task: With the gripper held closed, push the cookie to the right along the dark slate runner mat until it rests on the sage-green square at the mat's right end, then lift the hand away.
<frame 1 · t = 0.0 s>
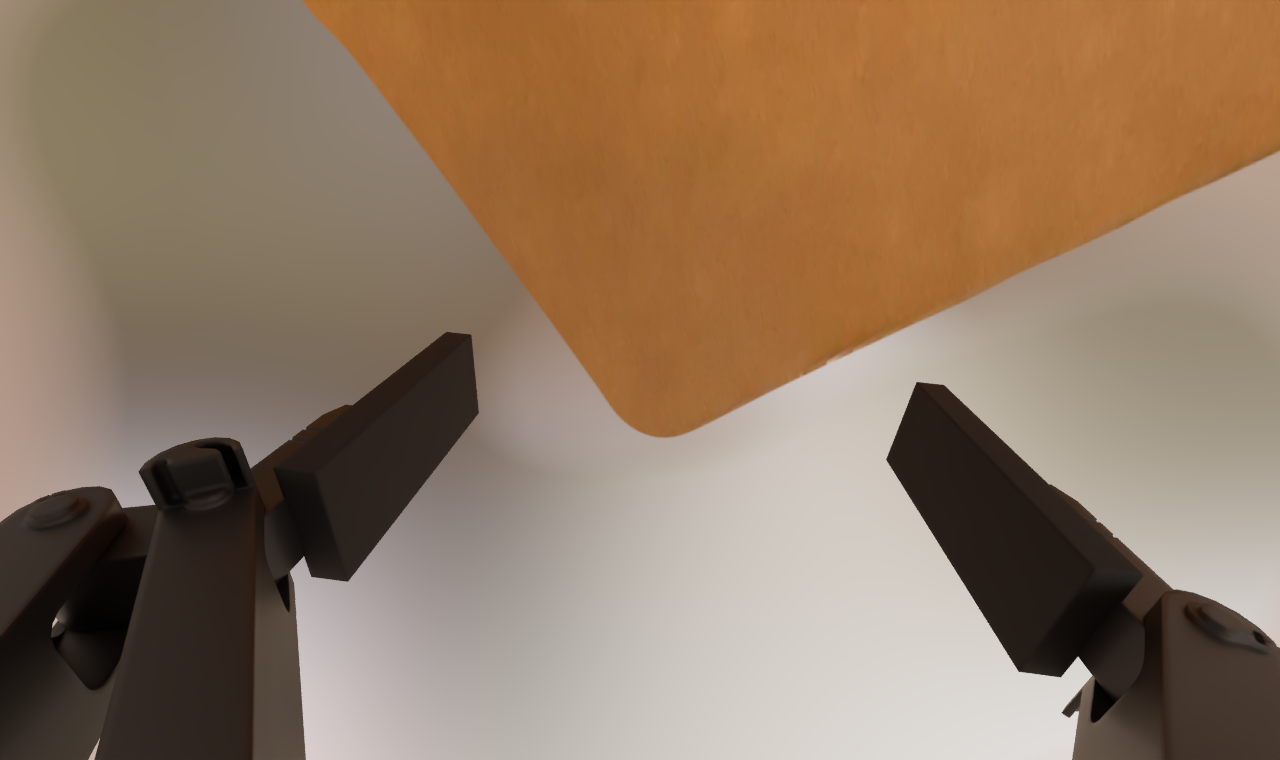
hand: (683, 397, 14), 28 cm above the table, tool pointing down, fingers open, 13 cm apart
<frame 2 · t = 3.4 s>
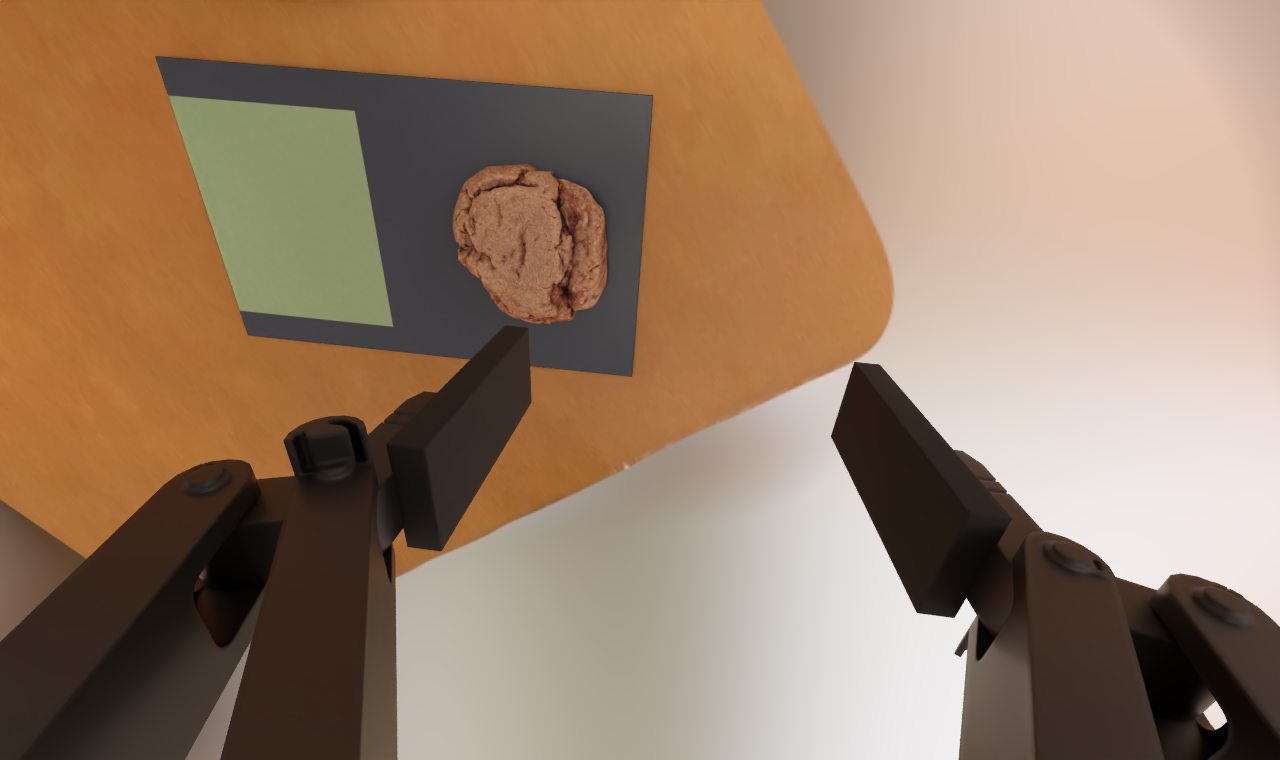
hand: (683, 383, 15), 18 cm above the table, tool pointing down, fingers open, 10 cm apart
cookie: (537, 244, 31), resting on runner
runner: (420, 233, 32), on the table
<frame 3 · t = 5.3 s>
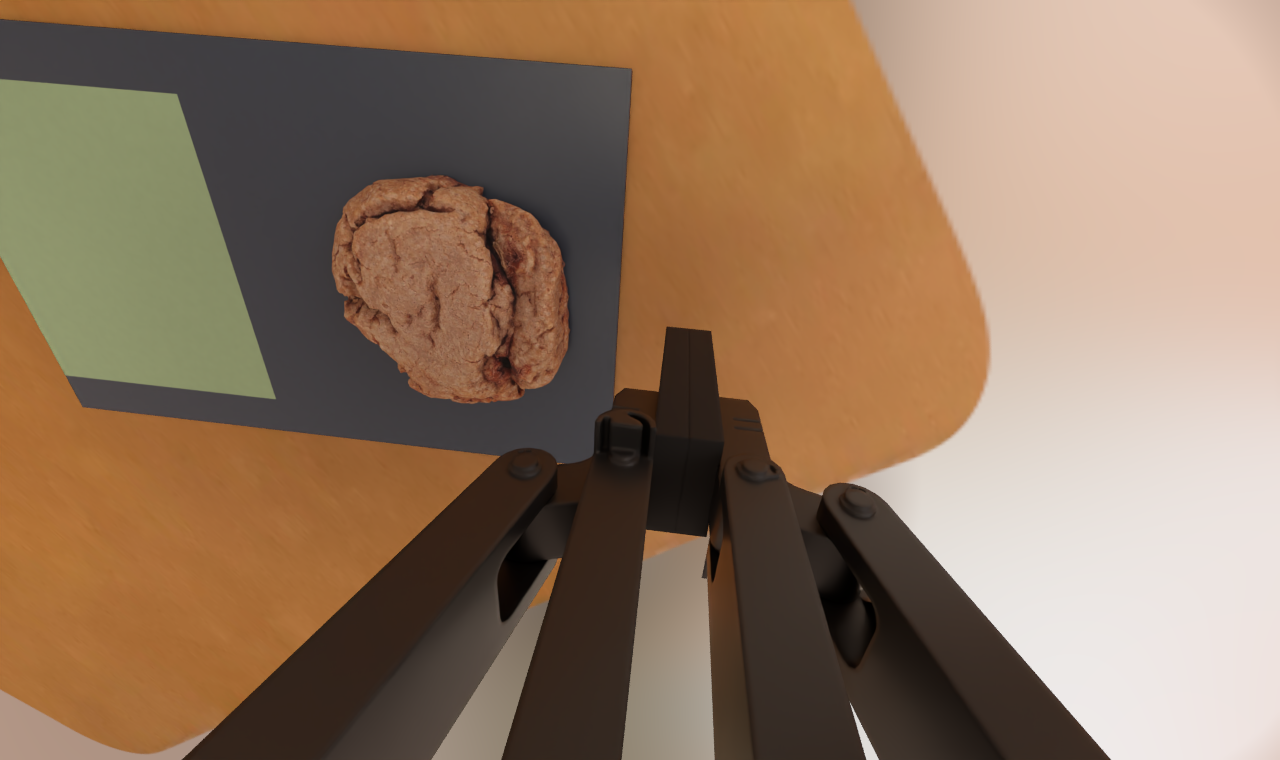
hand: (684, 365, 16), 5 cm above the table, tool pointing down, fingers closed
cookie: (467, 291, 21), resting on runner
runner: (299, 274, 22), on the table
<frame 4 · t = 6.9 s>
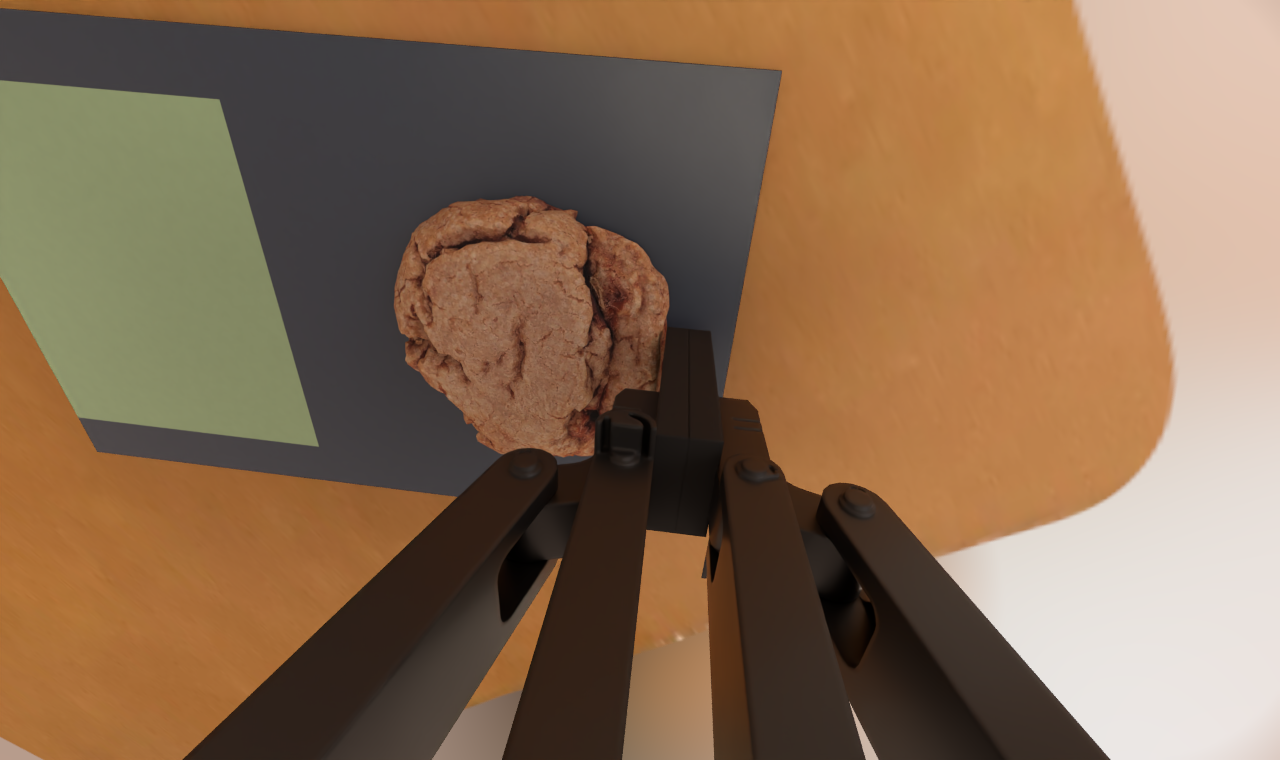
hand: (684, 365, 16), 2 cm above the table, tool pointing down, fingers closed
cookie: (544, 329, 18), resting on runner, touching gripper
runner: (354, 309, 19), on the table
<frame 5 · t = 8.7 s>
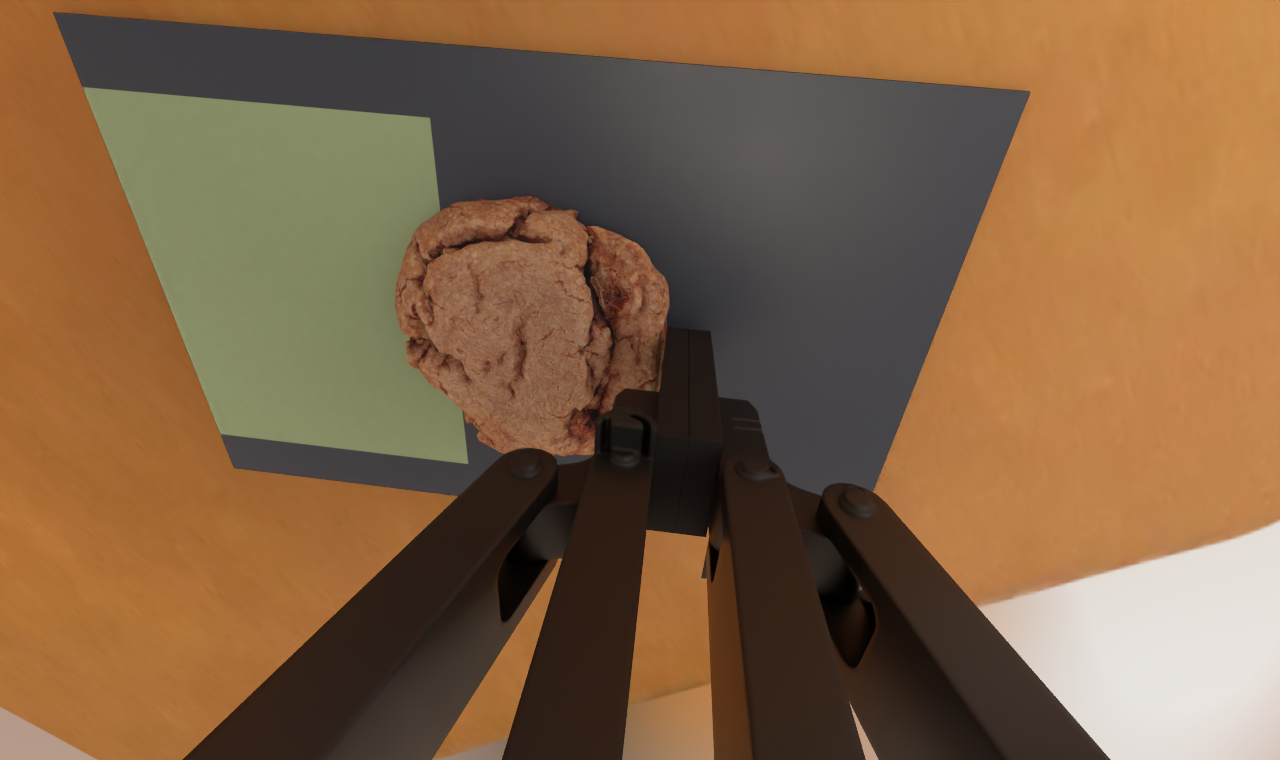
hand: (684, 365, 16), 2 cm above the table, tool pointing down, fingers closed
cookie: (545, 328, 18), resting on runner, touching gripper
runner: (529, 327, 18), on the table
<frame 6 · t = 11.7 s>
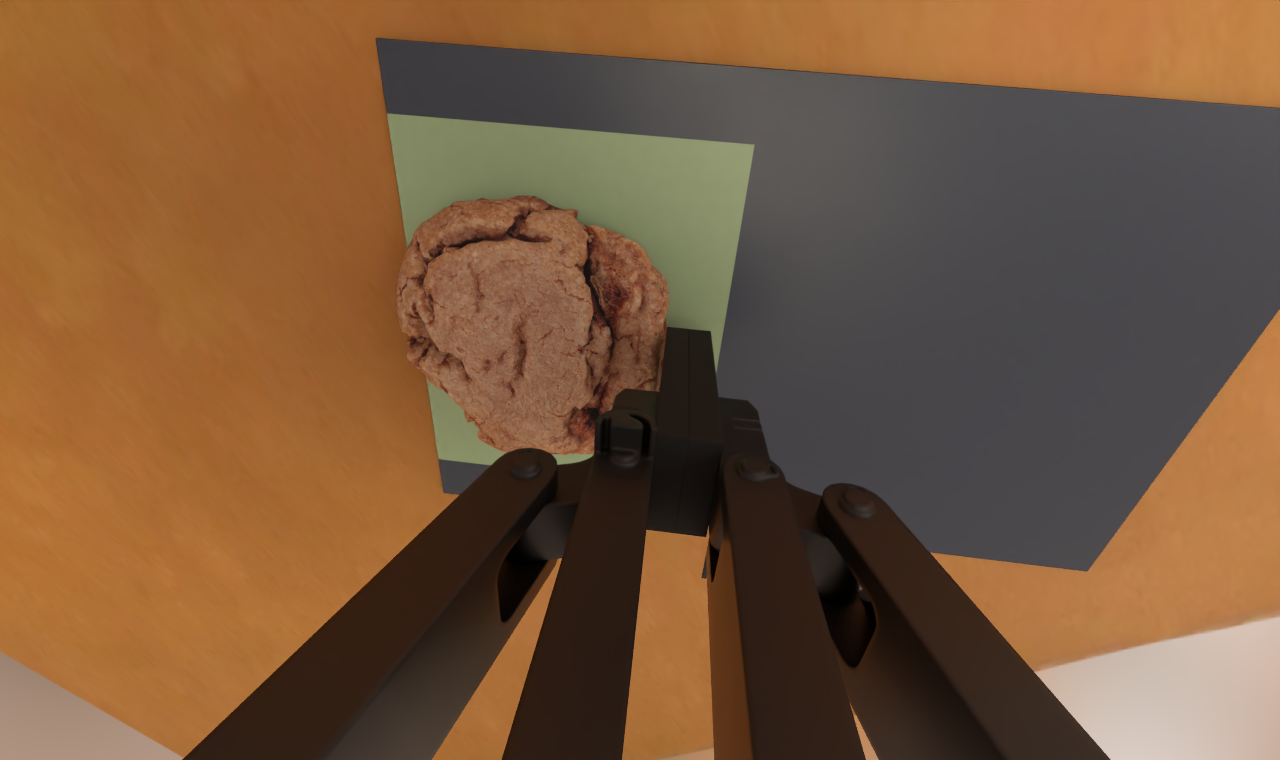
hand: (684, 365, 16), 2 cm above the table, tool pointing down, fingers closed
cookie: (545, 327, 18), resting on runner, touching gripper
runner: (798, 354, 18), on the table
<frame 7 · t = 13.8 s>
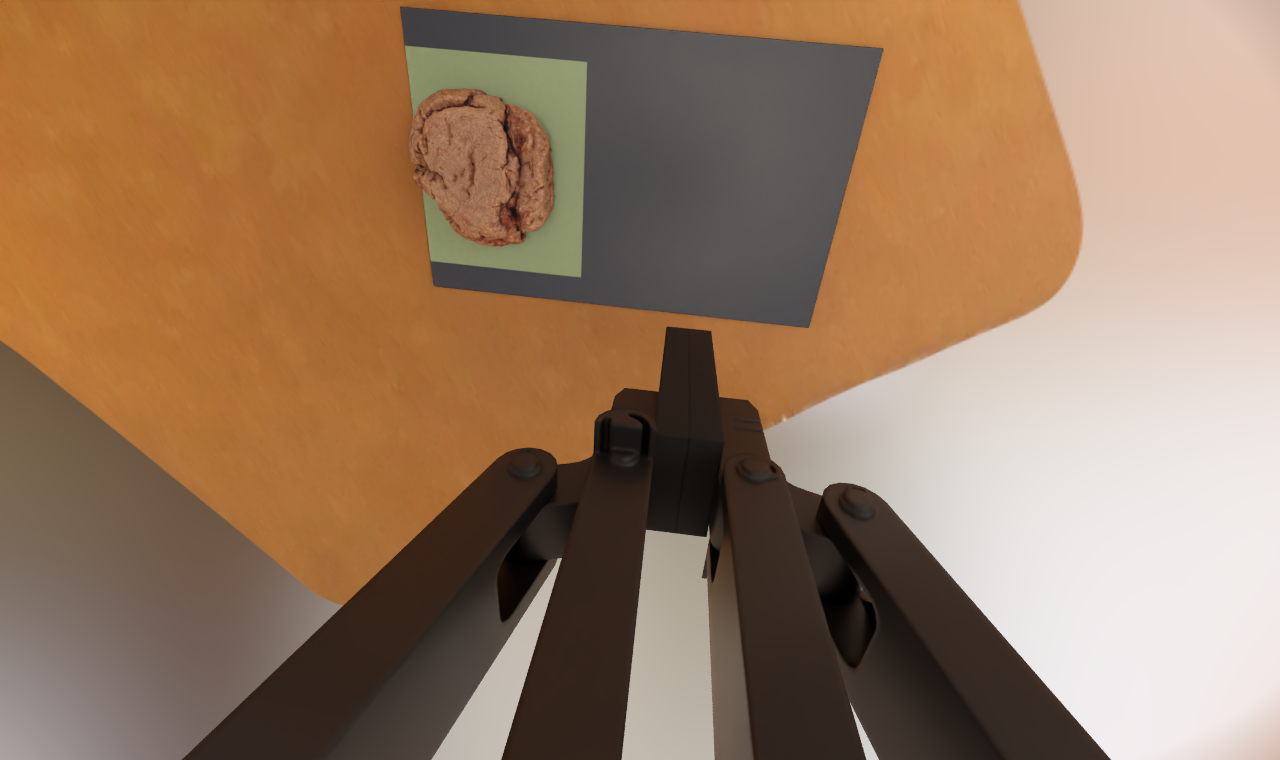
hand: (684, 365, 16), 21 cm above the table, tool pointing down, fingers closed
cookie: (489, 170, 34), resting on runner
runner: (626, 184, 33), on the table
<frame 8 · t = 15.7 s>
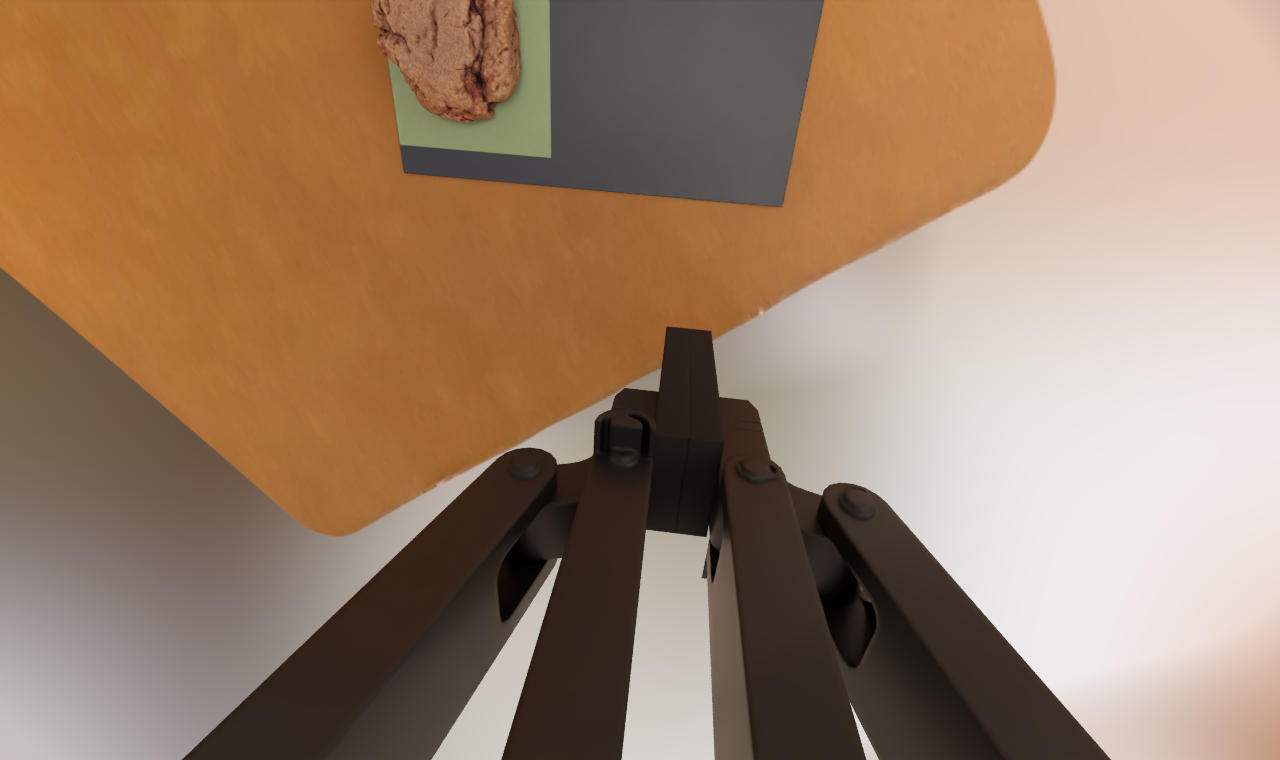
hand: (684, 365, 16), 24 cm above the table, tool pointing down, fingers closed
cookie: (455, 41, 33), resting on runner
runner: (593, 51, 33), on the table
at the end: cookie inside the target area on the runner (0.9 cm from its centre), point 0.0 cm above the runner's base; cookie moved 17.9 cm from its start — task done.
